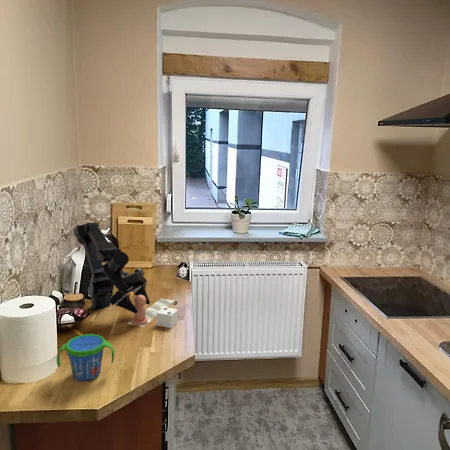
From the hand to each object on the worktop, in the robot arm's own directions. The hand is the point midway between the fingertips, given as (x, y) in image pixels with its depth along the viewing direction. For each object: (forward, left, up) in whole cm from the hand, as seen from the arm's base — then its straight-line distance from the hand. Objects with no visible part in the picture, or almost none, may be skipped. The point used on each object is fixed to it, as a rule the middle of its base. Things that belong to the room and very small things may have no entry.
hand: (143, 308), depth 145 cm
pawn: (0, +1, -6) cm, 6 cm away
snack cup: (-31, -16, -7) cm, 36 cm away
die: (+6, -7, -7) cm, 11 cm away
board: (+9, +6, -7) cm, 13 cm away
